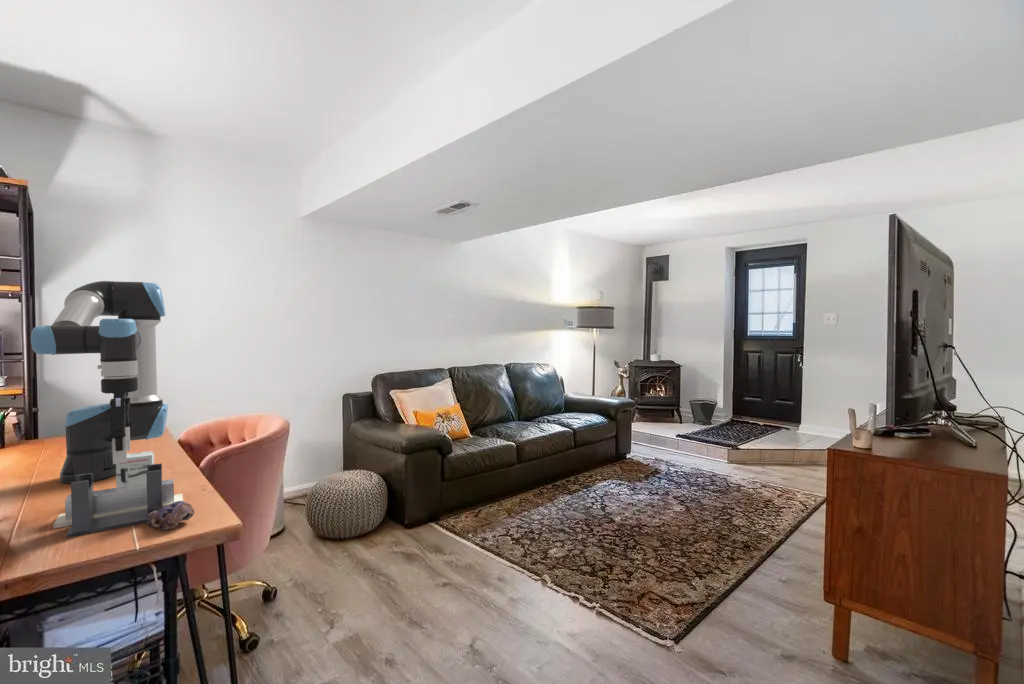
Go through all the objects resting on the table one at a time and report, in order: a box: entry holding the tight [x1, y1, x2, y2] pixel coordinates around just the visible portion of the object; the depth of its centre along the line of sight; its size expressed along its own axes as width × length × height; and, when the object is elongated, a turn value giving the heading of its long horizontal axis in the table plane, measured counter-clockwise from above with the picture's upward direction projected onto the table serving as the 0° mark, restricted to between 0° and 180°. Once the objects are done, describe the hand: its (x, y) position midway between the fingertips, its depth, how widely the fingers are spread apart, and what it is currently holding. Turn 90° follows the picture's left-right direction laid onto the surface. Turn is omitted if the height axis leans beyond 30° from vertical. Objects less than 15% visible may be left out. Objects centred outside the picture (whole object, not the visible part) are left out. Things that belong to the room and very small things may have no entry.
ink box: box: [115, 450, 155, 488], centre depth 141 cm, size 8×5×12 cm, turn 123°
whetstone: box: [64, 478, 175, 521], centre depth 127 cm, size 5×22×5 cm, turn 126°
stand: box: [66, 462, 165, 538], centre depth 120 cm, size 8×19×12 cm, turn 126°
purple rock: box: [146, 500, 195, 531], centre depth 119 cm, size 12×8×6 cm, turn 67°
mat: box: [53, 493, 184, 529], centre depth 128 cm, size 8×26×1 cm, turn 126°
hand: (122, 456), depth 127 cm, fingers open, 13 cm apart
